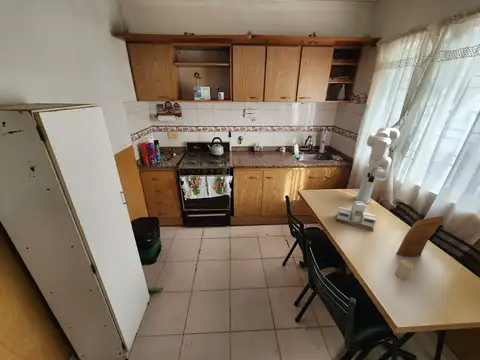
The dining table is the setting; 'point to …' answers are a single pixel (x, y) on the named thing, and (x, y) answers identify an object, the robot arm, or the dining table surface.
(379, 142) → the robot arm
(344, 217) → the rail board
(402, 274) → the candle
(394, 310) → the dining table surface
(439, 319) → the dining table surface
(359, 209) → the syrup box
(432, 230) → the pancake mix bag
